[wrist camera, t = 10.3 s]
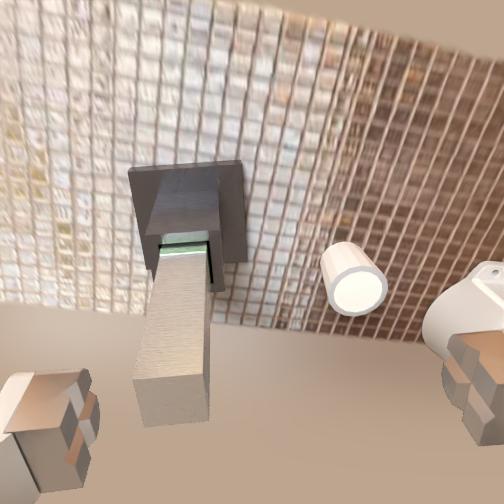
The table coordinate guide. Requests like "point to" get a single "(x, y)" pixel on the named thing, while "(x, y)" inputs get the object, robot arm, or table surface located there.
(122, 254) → the table surface
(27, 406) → the robot arm
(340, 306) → the white tapered cup
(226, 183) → the sleeve stand
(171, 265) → the steel post
